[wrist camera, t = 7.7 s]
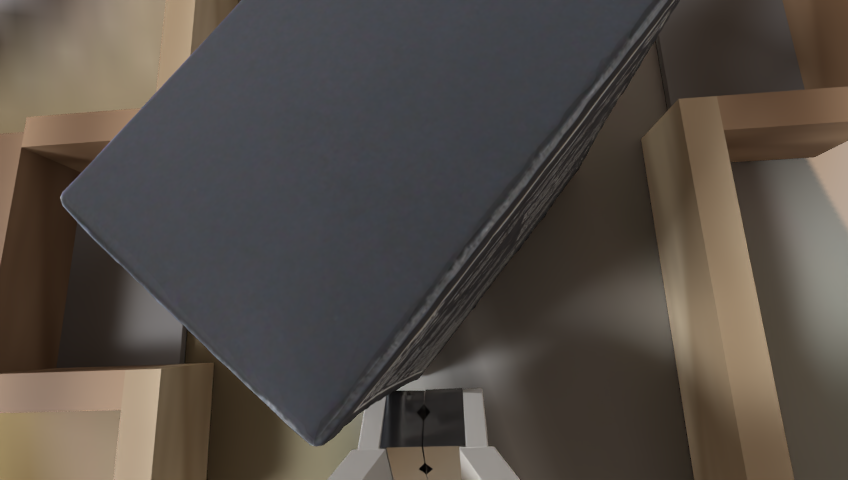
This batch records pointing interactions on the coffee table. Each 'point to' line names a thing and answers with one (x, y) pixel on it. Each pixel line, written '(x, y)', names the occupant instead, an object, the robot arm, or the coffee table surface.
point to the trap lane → (671, 206)
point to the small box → (354, 179)
